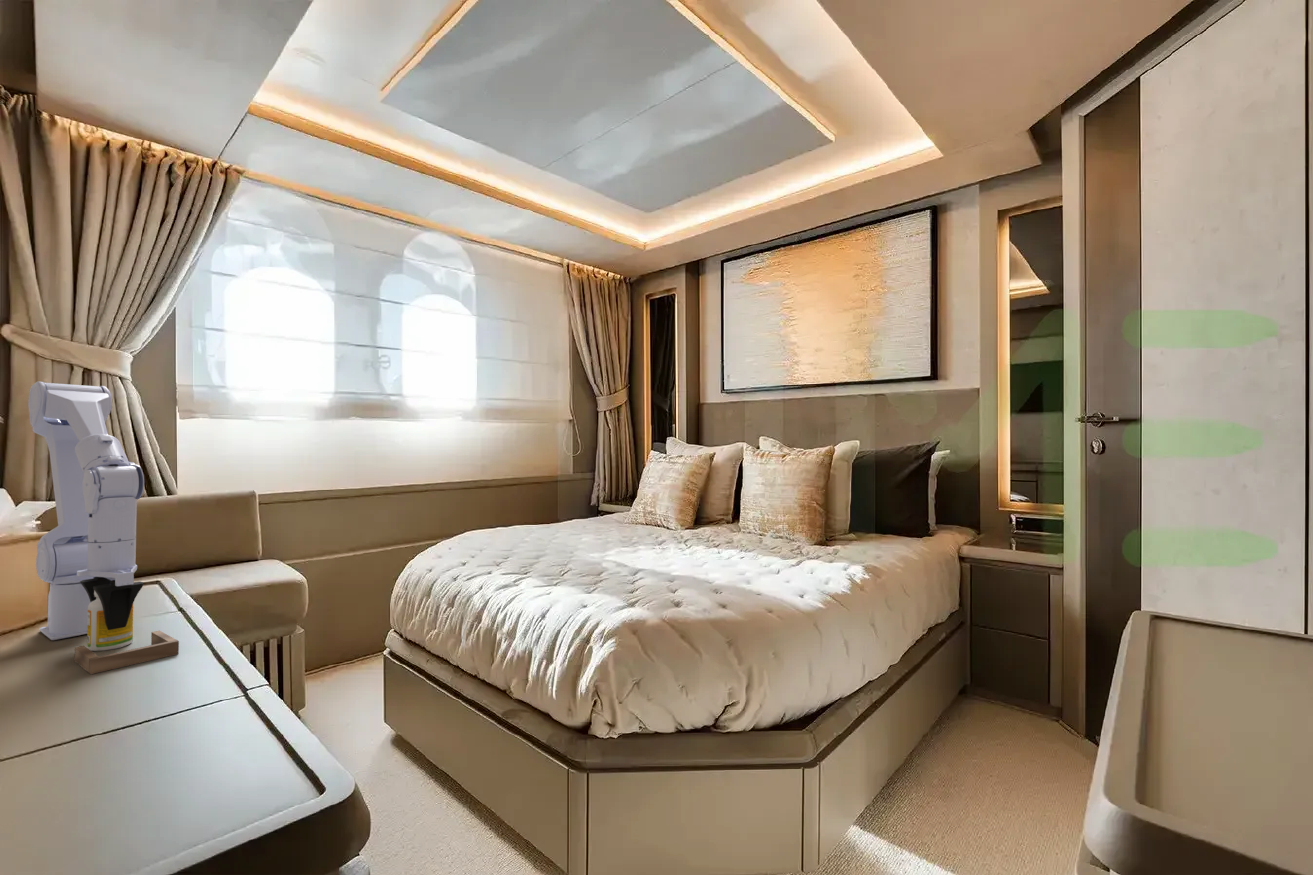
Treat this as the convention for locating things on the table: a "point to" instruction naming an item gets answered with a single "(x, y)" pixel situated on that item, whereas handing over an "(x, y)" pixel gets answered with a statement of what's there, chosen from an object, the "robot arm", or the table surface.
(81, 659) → the bay
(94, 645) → the supplement bottle
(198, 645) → the table surface
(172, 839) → the table surface
